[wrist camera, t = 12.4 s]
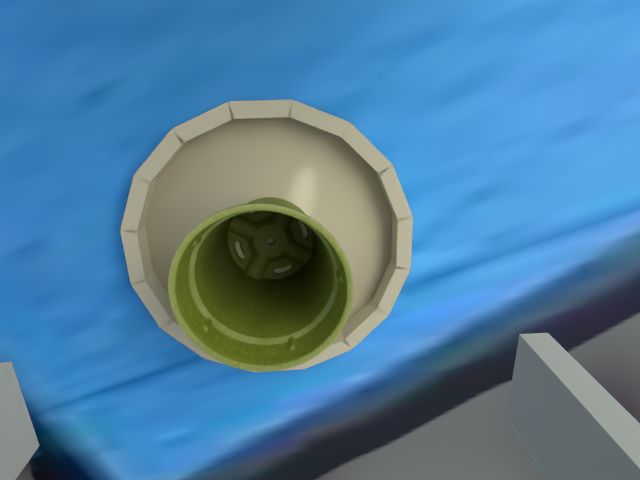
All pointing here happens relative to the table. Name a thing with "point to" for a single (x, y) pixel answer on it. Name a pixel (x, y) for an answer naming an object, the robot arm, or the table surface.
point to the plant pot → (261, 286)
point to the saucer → (279, 182)
